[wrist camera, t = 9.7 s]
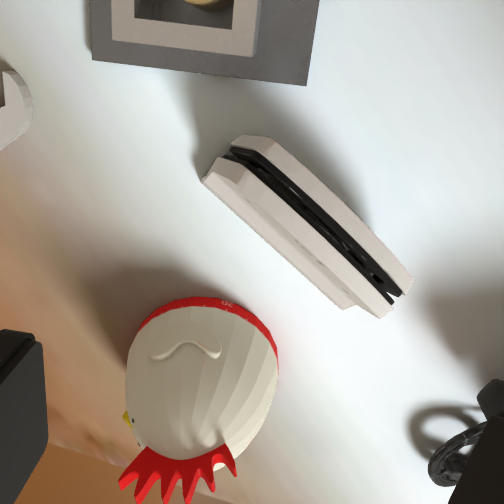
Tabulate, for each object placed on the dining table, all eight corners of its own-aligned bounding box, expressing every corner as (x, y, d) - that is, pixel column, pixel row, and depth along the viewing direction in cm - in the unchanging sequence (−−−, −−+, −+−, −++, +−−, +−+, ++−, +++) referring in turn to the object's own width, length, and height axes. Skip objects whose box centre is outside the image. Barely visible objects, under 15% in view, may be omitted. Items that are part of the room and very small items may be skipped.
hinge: (196, 178, 36) (209, 182, 26) (236, 133, 36) (264, 121, 26) (338, 307, 40) (394, 351, 31) (374, 267, 40) (441, 299, 31)
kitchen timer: (120, 300, 41) (44, 428, 28) (272, 291, 40) (271, 421, 27) (148, 416, 47) (97, 569, 33) (282, 411, 46) (285, 567, 32)
